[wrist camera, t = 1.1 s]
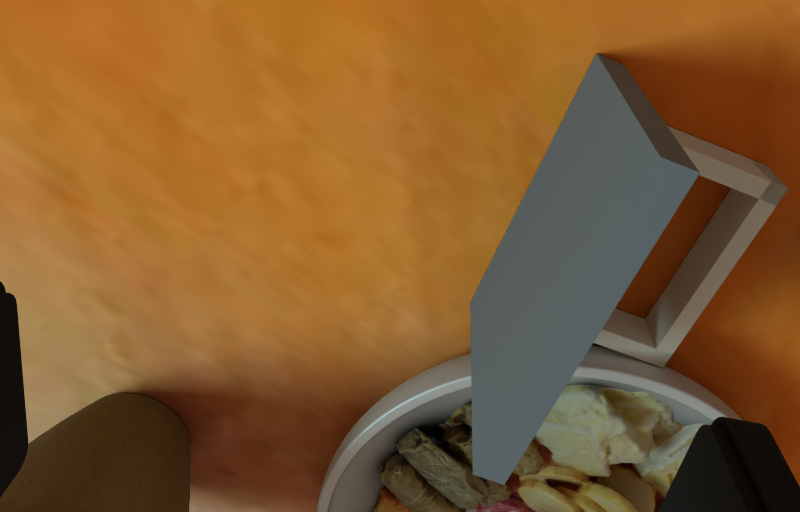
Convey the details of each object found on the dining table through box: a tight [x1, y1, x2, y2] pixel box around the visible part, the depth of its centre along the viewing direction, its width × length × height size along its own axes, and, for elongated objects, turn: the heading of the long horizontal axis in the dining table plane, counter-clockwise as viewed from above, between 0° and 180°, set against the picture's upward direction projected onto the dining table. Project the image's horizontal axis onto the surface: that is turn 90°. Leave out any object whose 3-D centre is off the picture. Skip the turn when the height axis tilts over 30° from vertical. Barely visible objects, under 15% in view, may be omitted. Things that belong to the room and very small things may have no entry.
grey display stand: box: [470, 54, 788, 485], centre depth 36 cm, size 16×11×14 cm
